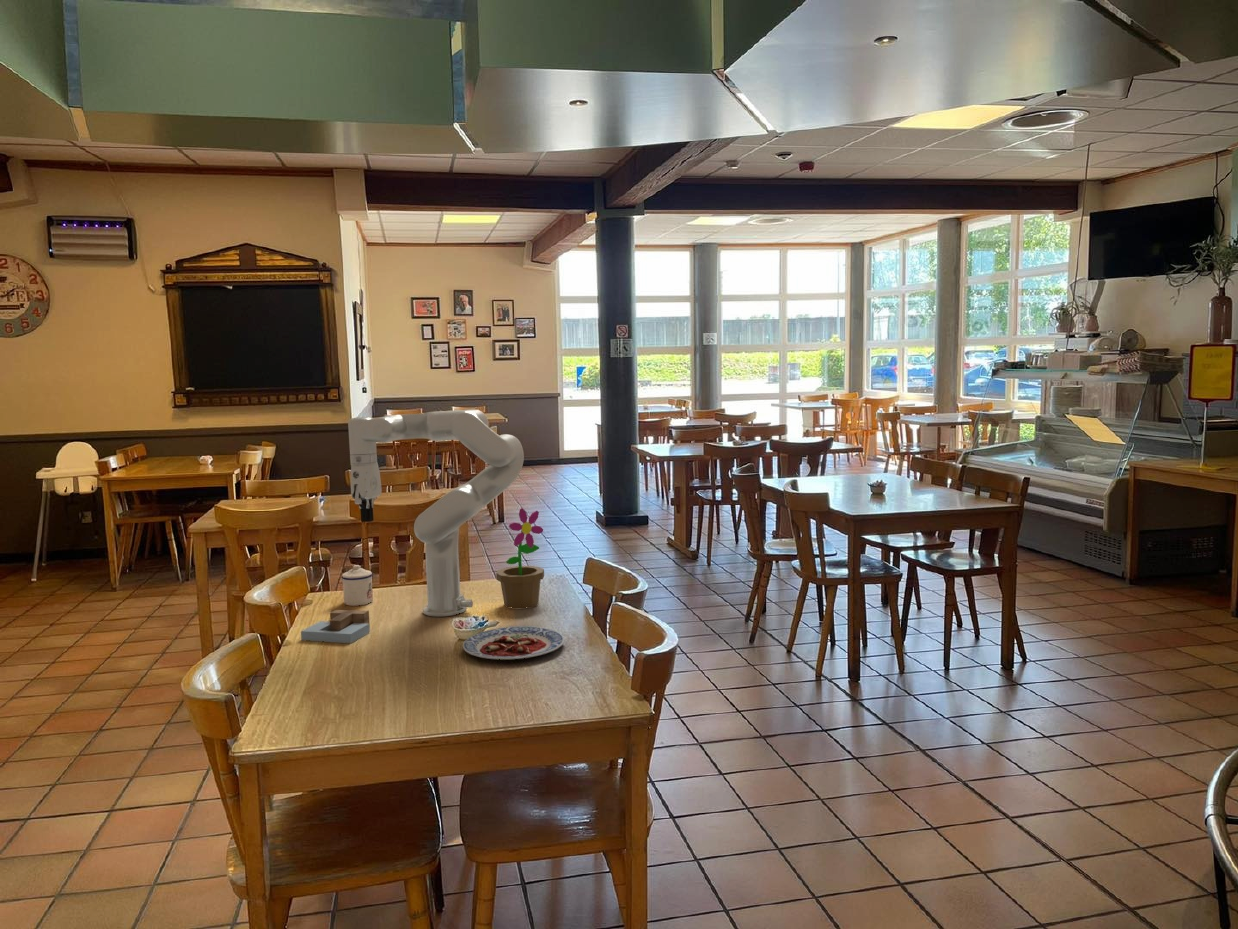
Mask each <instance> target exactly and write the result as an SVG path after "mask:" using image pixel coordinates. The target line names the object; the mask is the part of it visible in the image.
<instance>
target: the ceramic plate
mask: <svg viewBox="0 0 1238 929" xmlns="http://www.w3.org/2000/svg"><path fill="white" fill-rule="evenodd" d="M477 634H478V633H477ZM474 635H475V636H473V635H471V636H469V637H468V638H467V639H465V640H464V642H463V643H462V647H463V648H462V649H463V651H465V653H467V654H469V655H471V656H473V657H474V656H475V657H477V658H478V657H479V658H482V659H488V660H489V659H490V660H499V659H500V661H514V660H515V659H518V660H524V658H525V659H529V658H530V659H531V658H534V657H538V656H542V655H546V654H548V653H552V652H554V651H556V650H558V649H559V648H560V647H562V646H563V645H564V643H565V637H564V635H563V634H561V633H560V632H558V631H556V630H553V629H549V628H545V627H539V626H509V627H508V626H507V627H506V626H505V627H499V628H493V629H489V630H485V631H482V632H479V634H478V635H476V634H474ZM515 661H516V660H515Z"/></svg>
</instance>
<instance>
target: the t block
mask: <svg viewBox="0 0 1238 929" xmlns="http://www.w3.org/2000/svg"><path fill="white" fill-rule="evenodd" d="M329 616H330V620H329V621H330V631H338V632H339V631H341V630H342V629H344V628H346V627H348V626H350V625H352V624H353V623H366V624H369V627H370V626H371V625H370V612H369V610H359V609H357V610H356V609H355V610H354V609H353V610H349V609H334V610H333V611H331V612H329ZM370 628H371V627H370Z"/></svg>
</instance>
